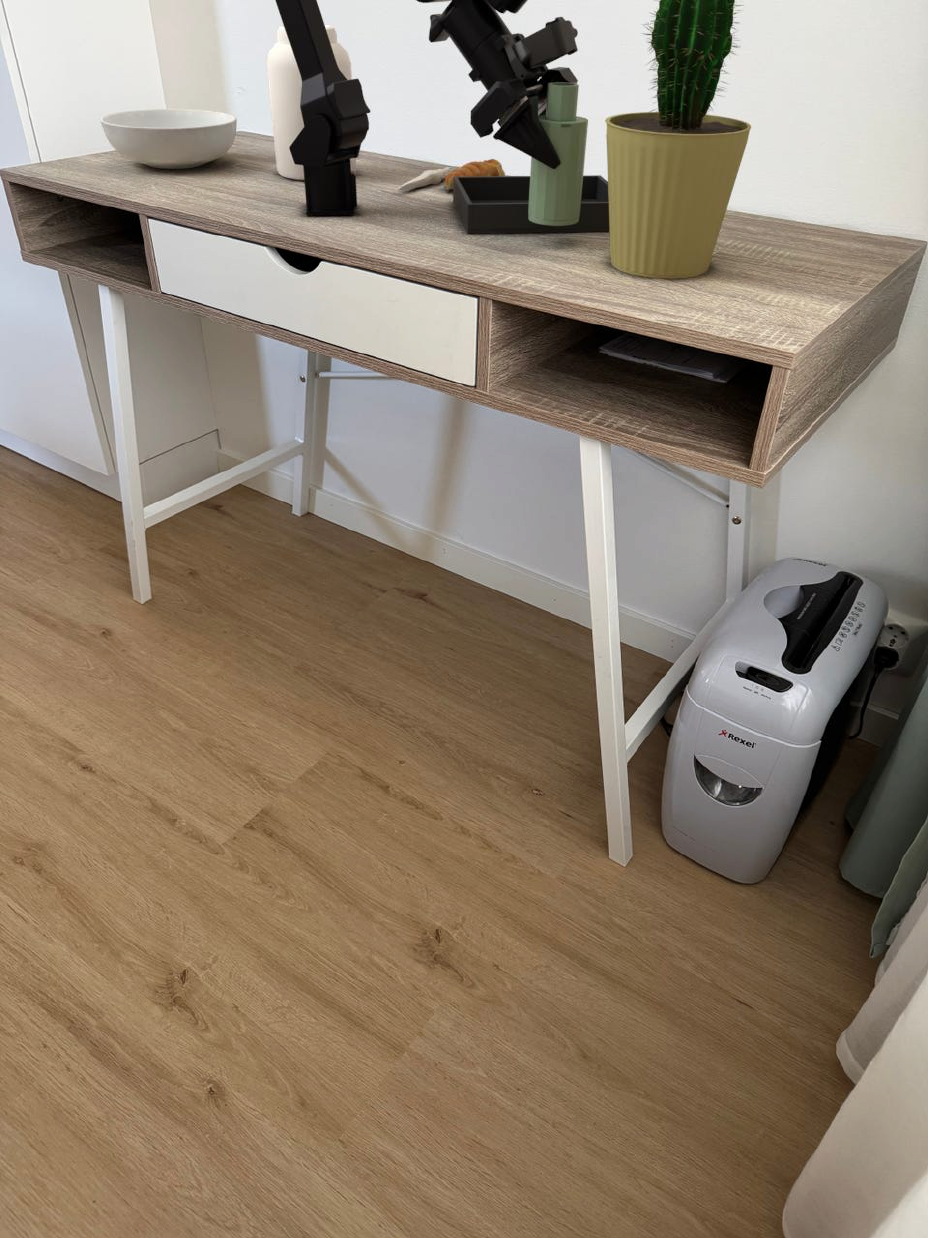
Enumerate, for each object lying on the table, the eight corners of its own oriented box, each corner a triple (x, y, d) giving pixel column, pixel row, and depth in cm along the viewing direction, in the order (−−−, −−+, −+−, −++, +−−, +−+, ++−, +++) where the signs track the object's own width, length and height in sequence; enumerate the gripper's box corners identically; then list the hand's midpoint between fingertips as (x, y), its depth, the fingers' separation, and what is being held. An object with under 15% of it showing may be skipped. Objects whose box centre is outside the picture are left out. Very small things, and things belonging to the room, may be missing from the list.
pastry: (461, 196, 135) (461, 168, 133) (433, 189, 139) (433, 161, 137) (510, 188, 140) (511, 161, 138) (481, 181, 144) (482, 154, 142)
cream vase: (280, 183, 141) (265, 27, 129) (274, 167, 151) (260, 21, 139) (362, 180, 143) (355, 27, 131) (351, 165, 153) (343, 21, 141)
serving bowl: (226, 178, 143) (219, 128, 139) (91, 175, 143) (81, 125, 139) (252, 153, 160) (247, 108, 156) (132, 151, 160) (124, 106, 156)
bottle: (533, 225, 111) (541, 87, 102) (524, 213, 116) (531, 80, 107) (583, 225, 111) (596, 87, 103) (572, 213, 116) (584, 80, 108)
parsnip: (440, 176, 147) (440, 163, 146) (455, 178, 146) (455, 165, 145) (390, 194, 136) (390, 180, 135) (406, 196, 135) (405, 182, 134)
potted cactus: (591, 244, 115) (618, -56, 97) (717, 249, 113) (768, -53, 96) (592, 280, 102) (624, -56, 84) (734, 286, 101) (796, -53, 83)
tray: (467, 233, 118) (467, 204, 116) (453, 203, 132) (453, 176, 130) (629, 231, 120) (632, 202, 118) (598, 201, 134) (600, 175, 132)
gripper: (499, -10, 94) (590, 122, 97) (568, -14, 108) (646, 101, 110) (432, 74, 102) (517, 194, 105) (504, 60, 115) (578, 166, 118)
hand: (568, 161), depth 109 cm, fingers closed on bottle, 6 cm apart
